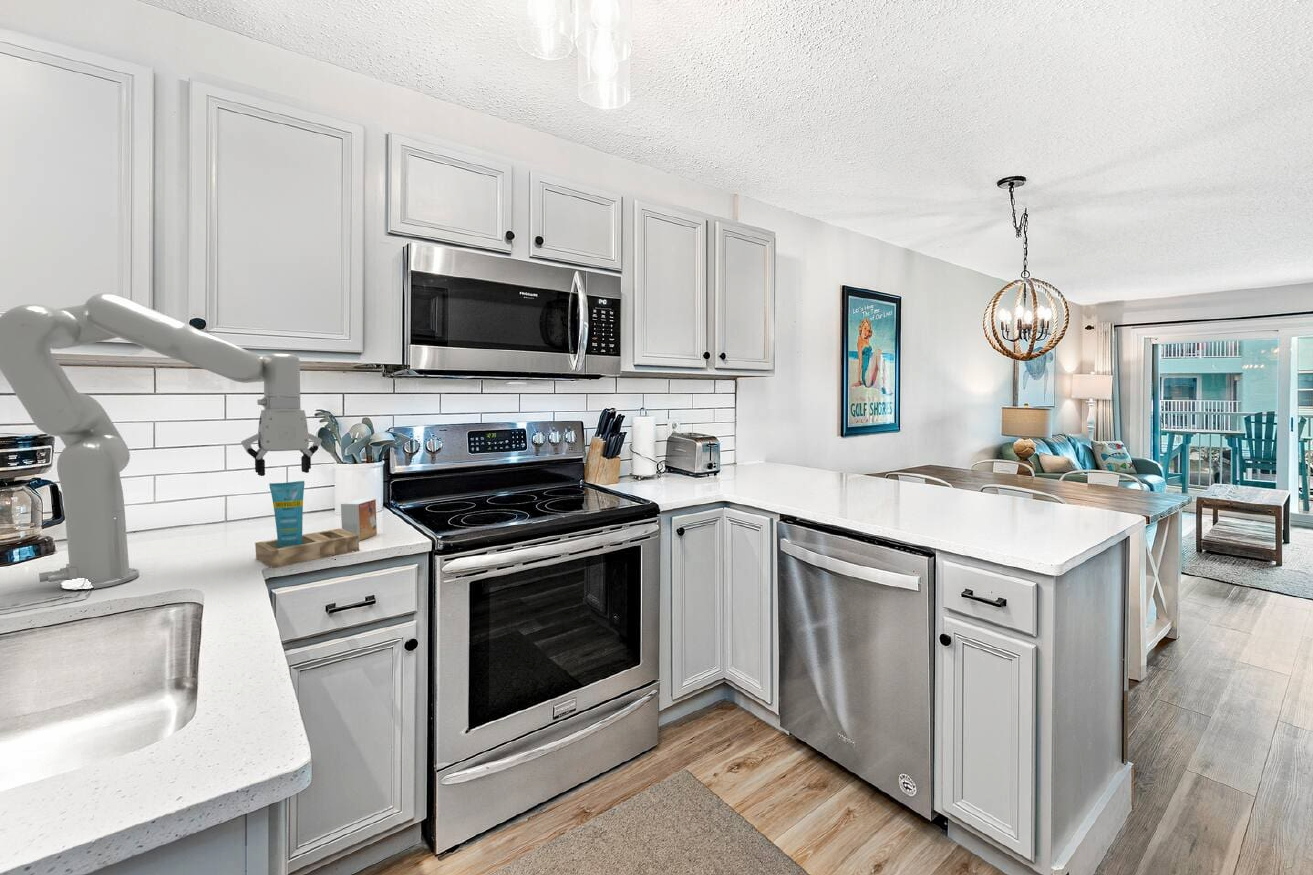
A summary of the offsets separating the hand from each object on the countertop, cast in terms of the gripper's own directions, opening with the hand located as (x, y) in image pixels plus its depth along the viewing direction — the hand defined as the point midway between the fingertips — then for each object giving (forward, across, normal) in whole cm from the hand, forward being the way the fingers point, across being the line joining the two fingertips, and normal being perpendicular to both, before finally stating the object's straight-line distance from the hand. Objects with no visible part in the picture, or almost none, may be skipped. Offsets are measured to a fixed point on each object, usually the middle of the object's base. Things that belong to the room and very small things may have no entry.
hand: (283, 473), depth 147 cm
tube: (+22, +1, 0) cm, 22 cm away
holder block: (+21, +5, 0) cm, 22 cm away
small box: (+21, +21, +8) cm, 31 cm away
